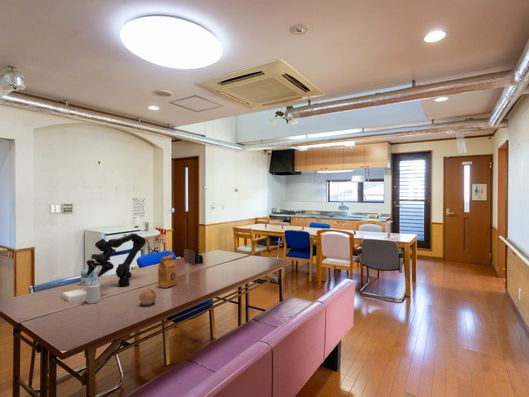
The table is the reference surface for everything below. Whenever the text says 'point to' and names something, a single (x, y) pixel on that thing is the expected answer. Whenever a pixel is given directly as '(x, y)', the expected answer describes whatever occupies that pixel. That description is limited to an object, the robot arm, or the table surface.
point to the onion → (147, 297)
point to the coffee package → (167, 272)
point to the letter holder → (192, 257)
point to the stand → (74, 295)
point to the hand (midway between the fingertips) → (92, 276)
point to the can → (93, 292)
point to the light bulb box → (89, 277)
